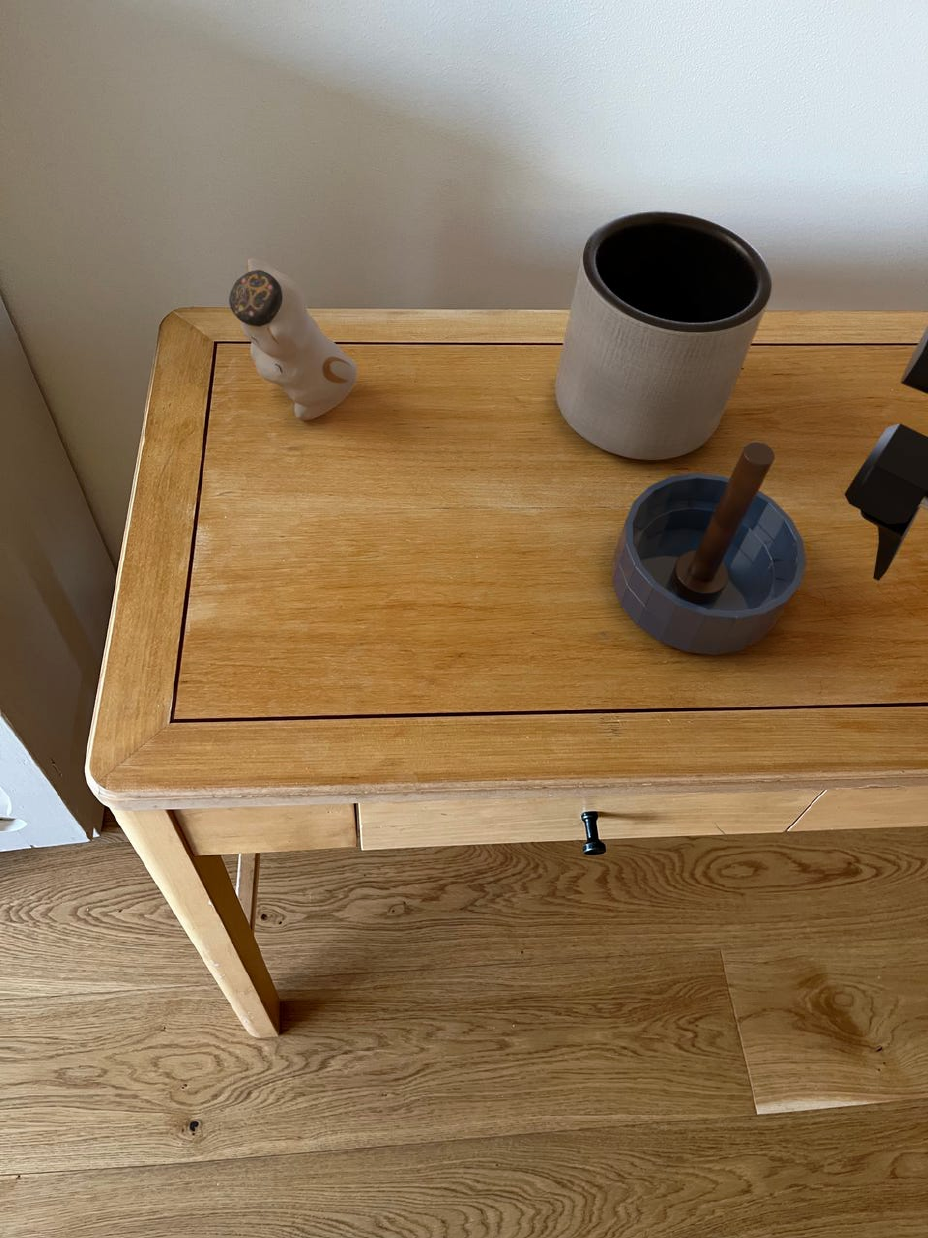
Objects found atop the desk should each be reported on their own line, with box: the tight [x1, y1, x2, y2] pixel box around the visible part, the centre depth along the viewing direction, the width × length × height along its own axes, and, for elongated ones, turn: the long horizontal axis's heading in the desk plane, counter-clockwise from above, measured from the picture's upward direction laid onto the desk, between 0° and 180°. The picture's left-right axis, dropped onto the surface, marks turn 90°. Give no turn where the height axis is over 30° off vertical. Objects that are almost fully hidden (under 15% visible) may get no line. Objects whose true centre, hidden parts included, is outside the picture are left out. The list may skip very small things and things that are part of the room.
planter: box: [554, 210, 773, 461], centre depth 82 cm, size 16×16×16 cm
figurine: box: [228, 257, 358, 421], centre depth 80 cm, size 9×10×15 cm
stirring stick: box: [671, 441, 776, 604], centre depth 71 cm, size 4×4×16 cm
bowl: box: [611, 472, 807, 656], centre depth 75 cm, size 14×14×6 cm
